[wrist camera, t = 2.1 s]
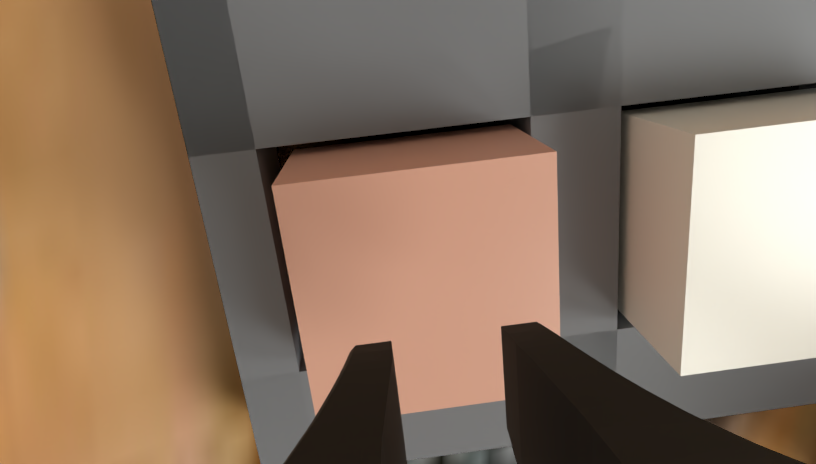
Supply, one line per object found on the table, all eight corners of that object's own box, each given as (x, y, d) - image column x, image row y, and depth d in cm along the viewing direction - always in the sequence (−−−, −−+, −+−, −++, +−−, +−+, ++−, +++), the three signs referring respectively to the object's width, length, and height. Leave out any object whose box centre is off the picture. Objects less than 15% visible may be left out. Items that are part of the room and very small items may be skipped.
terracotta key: (510, 124, 16) (556, 151, 12) (519, 317, 18) (561, 392, 14) (293, 149, 16) (271, 185, 12) (326, 342, 18) (317, 425, 14)
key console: (872, -68, 17) (976, -90, 14) (811, 347, 21) (879, 394, 19) (188, 6, 16) (150, -1, 13) (277, 419, 21) (264, 480, 18)
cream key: (823, 86, 16) (965, 102, 12) (798, 280, 18) (913, 344, 14) (616, 111, 16) (695, 134, 12) (613, 304, 18) (680, 376, 14)
